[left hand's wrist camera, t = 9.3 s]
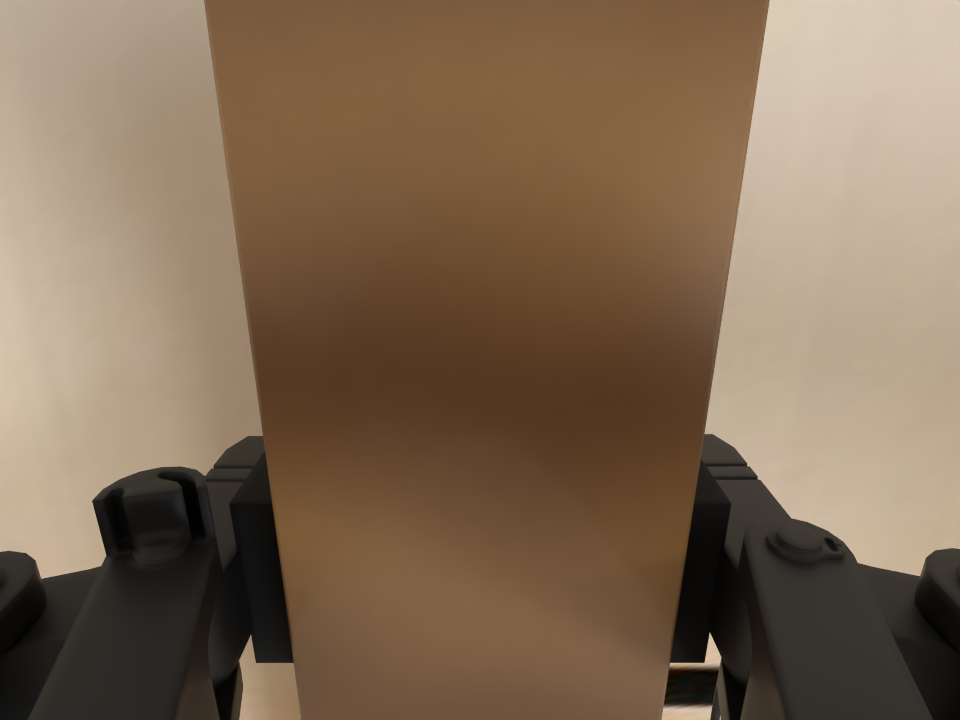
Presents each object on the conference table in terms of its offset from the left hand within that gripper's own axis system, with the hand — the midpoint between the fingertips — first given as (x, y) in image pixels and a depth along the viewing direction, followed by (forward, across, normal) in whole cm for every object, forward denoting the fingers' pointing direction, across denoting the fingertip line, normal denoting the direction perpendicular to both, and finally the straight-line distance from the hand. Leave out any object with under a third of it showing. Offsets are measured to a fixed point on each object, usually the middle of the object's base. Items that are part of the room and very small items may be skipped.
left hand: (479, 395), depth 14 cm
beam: (+1, 0, -30) cm, 31 cm away
